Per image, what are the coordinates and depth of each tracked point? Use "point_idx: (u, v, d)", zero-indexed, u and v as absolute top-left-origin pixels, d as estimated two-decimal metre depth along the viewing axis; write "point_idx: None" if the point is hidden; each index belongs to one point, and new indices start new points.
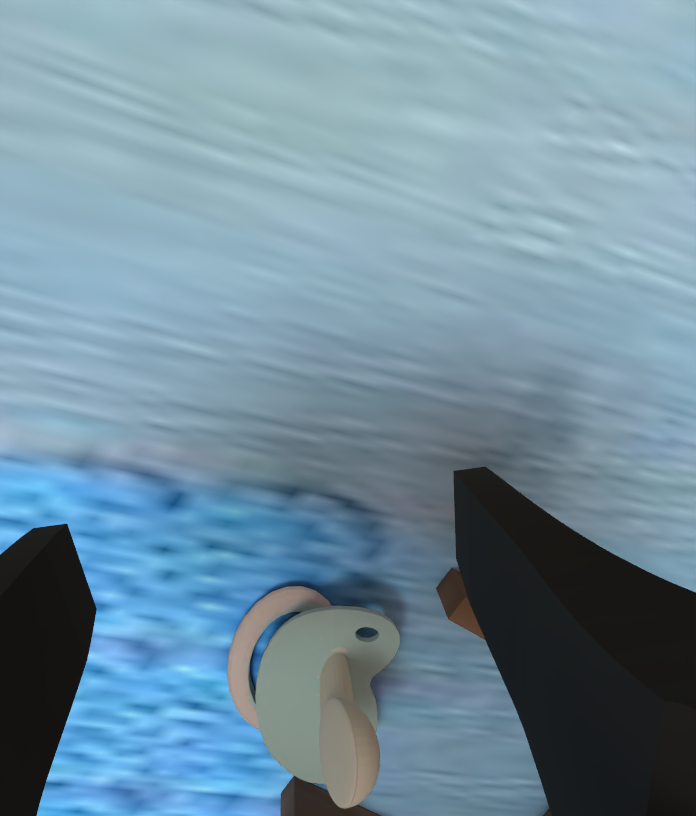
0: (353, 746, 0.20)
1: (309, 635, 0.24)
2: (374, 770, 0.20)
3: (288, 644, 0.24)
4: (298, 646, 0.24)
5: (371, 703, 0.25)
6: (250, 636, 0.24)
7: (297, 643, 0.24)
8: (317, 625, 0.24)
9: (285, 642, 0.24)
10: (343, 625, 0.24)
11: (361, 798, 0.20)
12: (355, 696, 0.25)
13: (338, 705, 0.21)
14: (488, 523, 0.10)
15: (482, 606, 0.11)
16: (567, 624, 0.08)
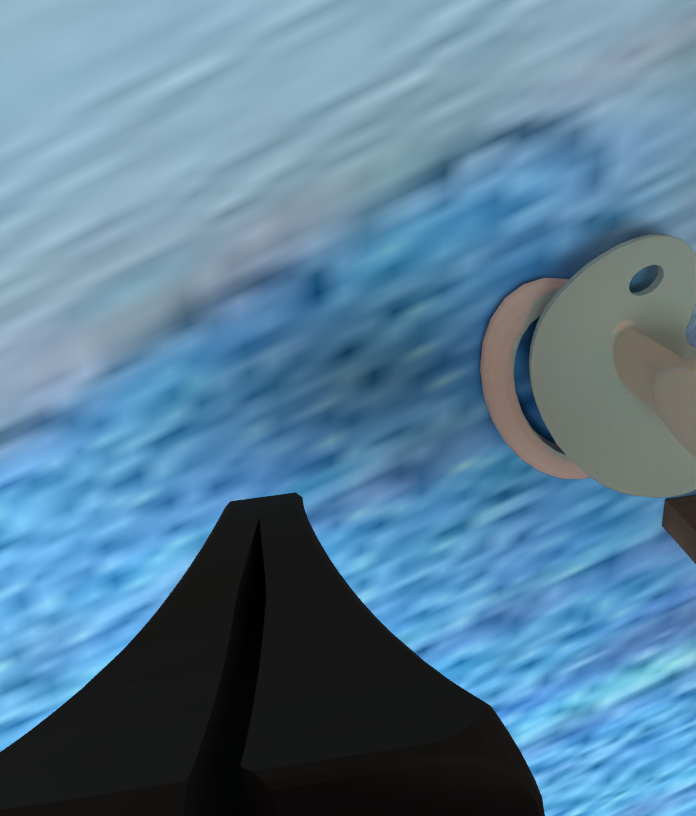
0: None
1: (573, 332, 0.17)
2: None
3: (554, 360, 0.17)
4: (568, 354, 0.17)
5: None
6: (503, 383, 0.18)
7: (564, 351, 0.17)
8: (575, 311, 0.16)
9: (549, 359, 0.17)
10: (608, 289, 0.16)
11: None
12: None
13: (675, 372, 0.14)
14: None
15: None
16: None
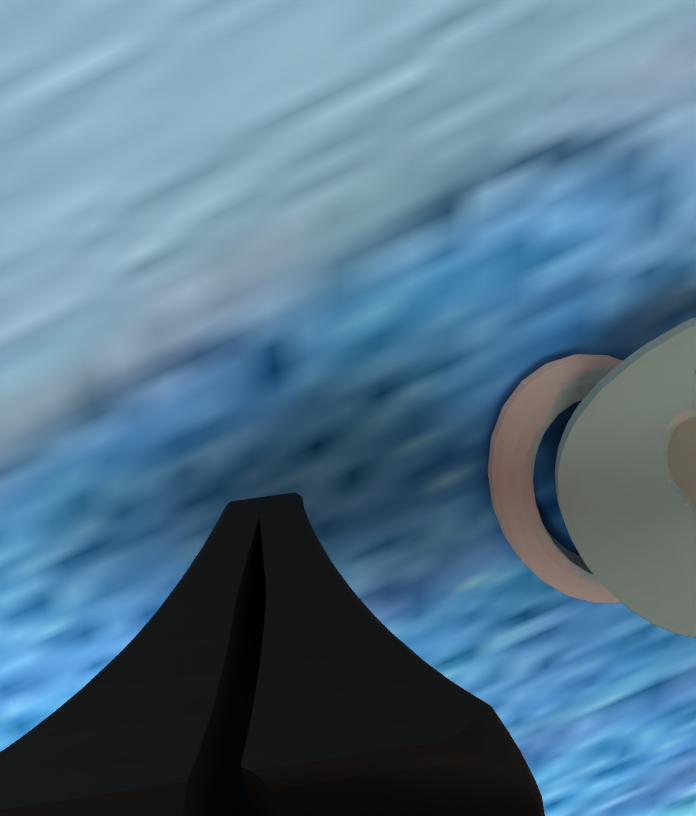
0: None
1: (616, 429, 0.12)
2: None
3: (589, 465, 0.12)
4: (608, 457, 0.13)
5: None
6: (518, 491, 0.13)
7: (603, 454, 0.12)
8: (621, 405, 0.12)
9: (583, 465, 0.12)
10: (668, 375, 0.12)
11: None
12: None
13: None
14: None
15: None
16: None
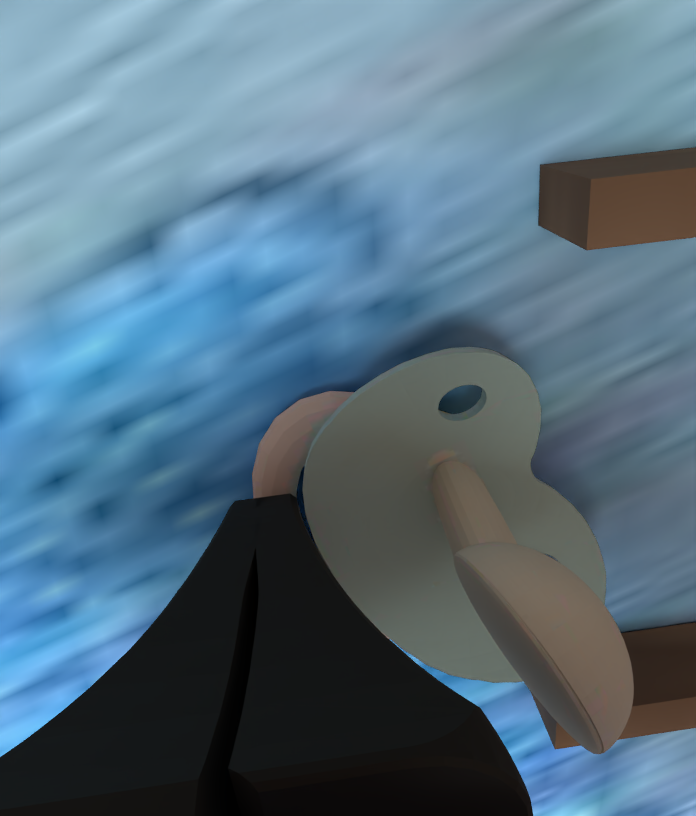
0: (532, 641, 0.08)
1: (366, 469, 0.12)
2: (611, 658, 0.08)
3: (344, 504, 0.12)
4: (365, 496, 0.12)
5: (558, 505, 0.13)
6: None
7: (358, 493, 0.12)
8: (361, 445, 0.11)
9: (336, 504, 0.12)
10: (406, 415, 0.11)
11: (619, 727, 0.08)
12: (524, 509, 0.13)
13: (465, 567, 0.09)
14: None
15: None
16: None
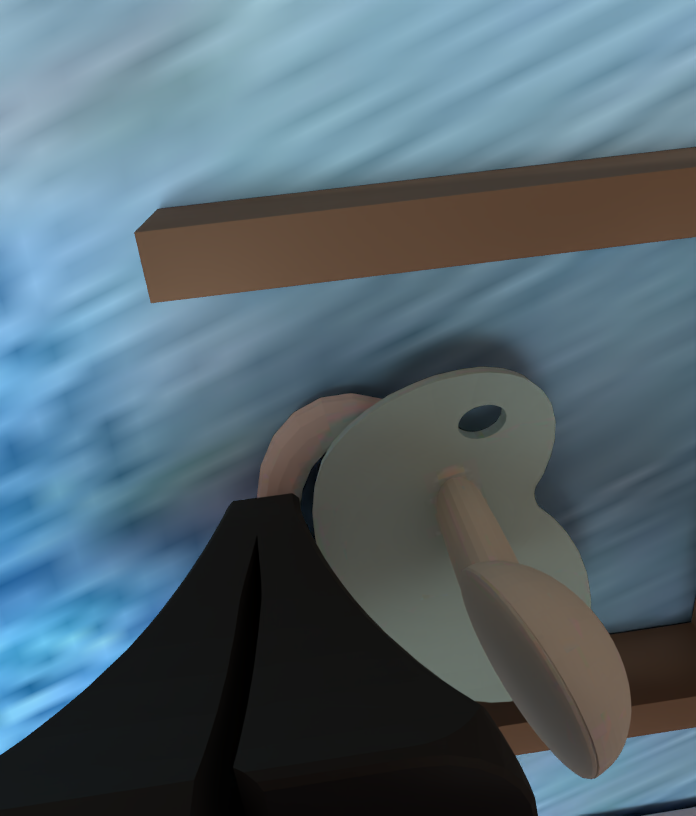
0: (545, 661, 0.08)
1: (377, 474, 0.12)
2: (617, 686, 0.08)
3: (350, 507, 0.12)
4: (371, 501, 0.12)
5: (554, 533, 0.13)
6: None
7: (366, 498, 0.12)
8: (379, 450, 0.12)
9: (342, 506, 0.12)
10: (427, 427, 0.11)
11: (616, 754, 0.08)
12: (521, 533, 0.13)
13: (478, 582, 0.10)
14: (260, 555, 0.10)
15: None
16: None
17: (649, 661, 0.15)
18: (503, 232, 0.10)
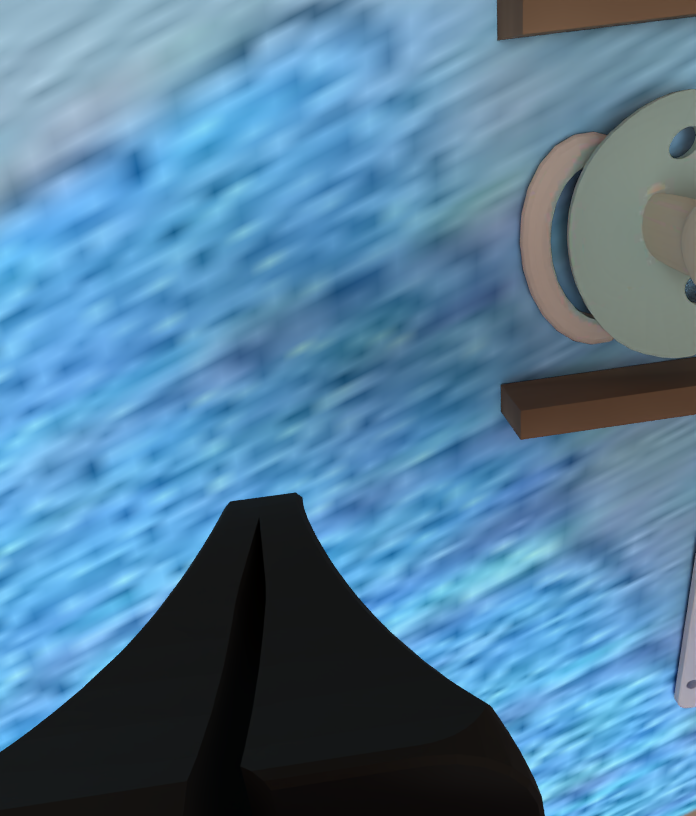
0: None
1: (613, 183, 0.18)
2: None
3: (592, 209, 0.19)
4: (604, 207, 0.19)
5: None
6: (540, 230, 0.19)
7: (602, 203, 0.19)
8: (619, 160, 0.18)
9: (588, 207, 0.18)
10: (652, 143, 0.18)
11: None
12: None
13: None
14: None
15: None
16: None
17: None
18: None
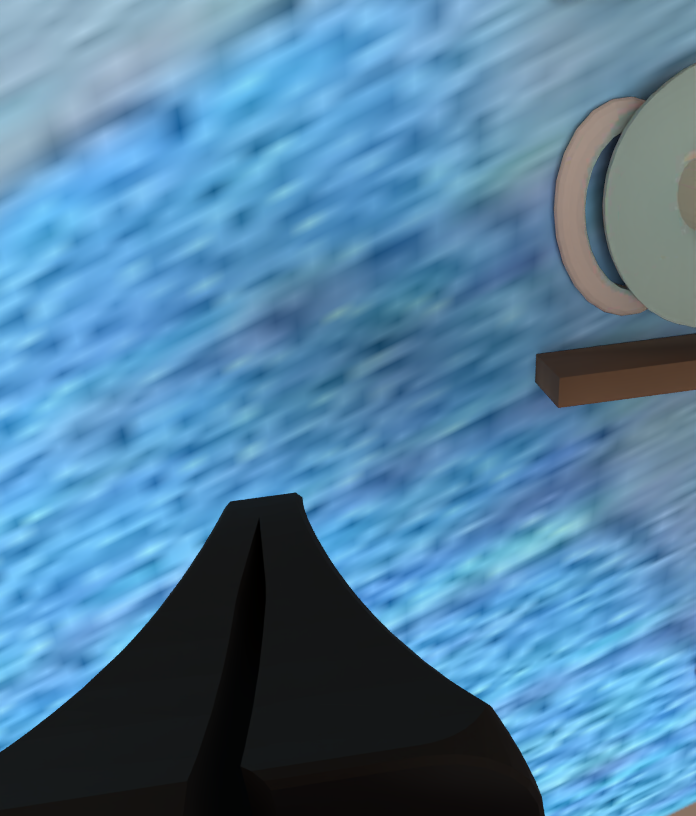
0: None
1: (651, 149, 0.18)
2: None
3: (629, 175, 0.18)
4: (641, 173, 0.19)
5: None
6: (575, 196, 0.19)
7: (639, 169, 0.18)
8: (659, 125, 0.18)
9: (625, 173, 0.18)
10: (692, 108, 0.18)
11: None
12: None
13: None
14: None
15: None
16: None
17: None
18: None
